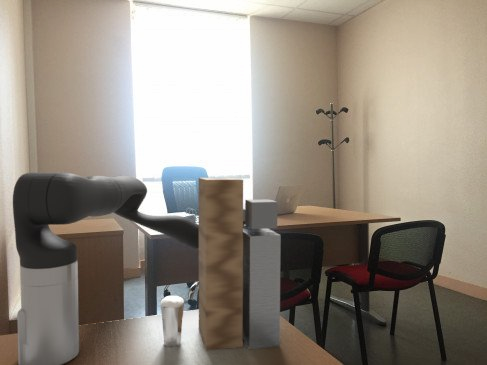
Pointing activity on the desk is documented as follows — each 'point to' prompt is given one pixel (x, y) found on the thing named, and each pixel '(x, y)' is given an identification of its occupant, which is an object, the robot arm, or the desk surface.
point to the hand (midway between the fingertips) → (246, 205)
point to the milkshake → (172, 319)
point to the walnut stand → (221, 262)
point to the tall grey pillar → (261, 288)
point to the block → (260, 213)
